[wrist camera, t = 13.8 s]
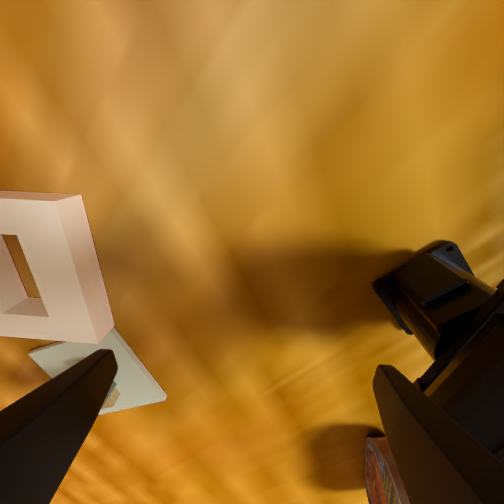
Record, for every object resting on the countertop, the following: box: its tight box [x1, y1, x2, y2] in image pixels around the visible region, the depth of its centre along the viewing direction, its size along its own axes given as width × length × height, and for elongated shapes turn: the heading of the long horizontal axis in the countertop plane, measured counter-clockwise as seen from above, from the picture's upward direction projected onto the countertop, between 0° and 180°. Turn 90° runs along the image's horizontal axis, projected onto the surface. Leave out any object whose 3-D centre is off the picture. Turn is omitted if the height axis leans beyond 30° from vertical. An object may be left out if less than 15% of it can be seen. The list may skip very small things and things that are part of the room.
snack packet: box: [364, 437, 410, 504], centre depth 26 cm, size 15×3×8 cm, turn 9°
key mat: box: [28, 327, 167, 415], centre depth 27 cm, size 11×11×1 cm
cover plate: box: [0, 190, 115, 344], centre depth 20 cm, size 12×13×2 cm
